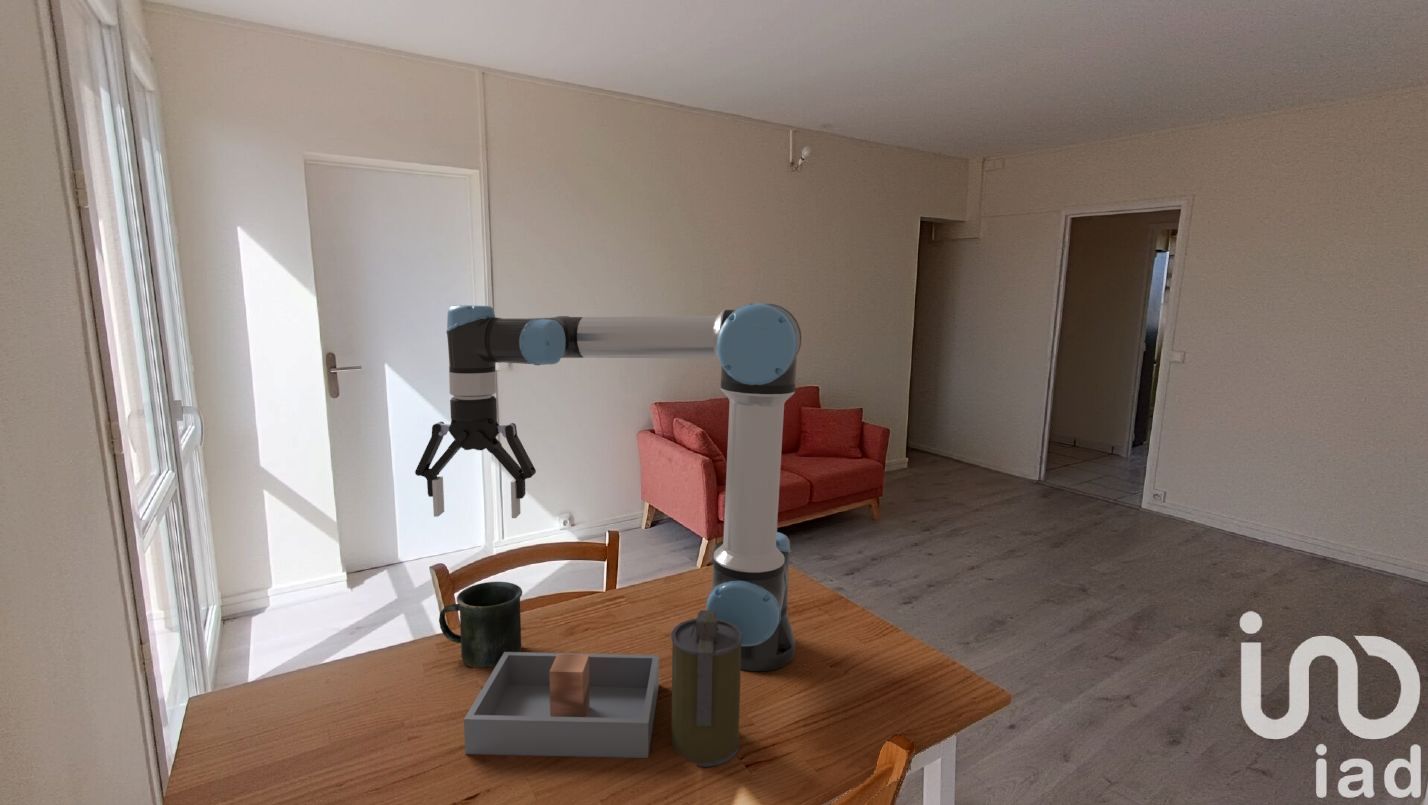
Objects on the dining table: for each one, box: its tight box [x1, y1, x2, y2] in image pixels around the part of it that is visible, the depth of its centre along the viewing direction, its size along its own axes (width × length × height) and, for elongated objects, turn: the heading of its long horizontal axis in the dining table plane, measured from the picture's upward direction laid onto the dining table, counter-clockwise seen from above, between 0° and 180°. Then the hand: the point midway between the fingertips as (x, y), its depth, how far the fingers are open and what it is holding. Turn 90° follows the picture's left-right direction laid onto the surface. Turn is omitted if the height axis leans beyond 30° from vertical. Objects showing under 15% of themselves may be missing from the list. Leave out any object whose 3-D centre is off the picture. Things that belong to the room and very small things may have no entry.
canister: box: [670, 609, 743, 768], centre depth 96 cm, size 11×10×20 cm
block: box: [549, 653, 590, 717], centre depth 102 cm, size 5×5×9 cm
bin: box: [463, 651, 660, 759], centre depth 102 cm, size 26×18×6 cm
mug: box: [438, 581, 523, 668], centre depth 120 cm, size 11×15×12 cm
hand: (477, 515), depth 116 cm, fingers open, 13 cm apart
